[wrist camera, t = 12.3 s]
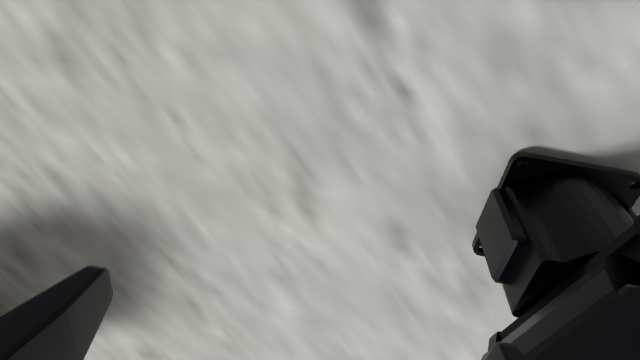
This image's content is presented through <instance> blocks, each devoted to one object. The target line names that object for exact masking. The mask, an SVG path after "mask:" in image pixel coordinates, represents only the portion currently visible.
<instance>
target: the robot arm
mask: <svg viewBox="0 0 640 360" xmlns="http://www.w3.org/2000/svg"><path fill="white" fill-rule="evenodd" d="M520 161H525V163H524V164H523V165H520V166H518V165H517V164H518V162H520ZM634 181H636V183H635V184H633V185H630V184H631V183H632V182H634ZM639 196H640V174H638V173H635V172H630V171H624V170H619V169H613V168H608V167H602V166H597V165H591V164H586V163H580V162H574V161H569V160H563V159H558V158H552V157H547V156H541V155H536V154H530V153H525V152H519V153H516V154H514V155H513V156H512V157H511V158H510V160H509V162H508V165H507V167H506V169H505V171H504V174H503V176H502V178H501V180H500V182H499V185H498V187H497V188H495V189H493V190H492V191H491V193H490V195H489V197H488V200H487V202H486V204H485V207H484V209H483V211H482V213H481V216H480V218H479V220H478V222H477V225H476V229H477V234H476V236H475V238H474V241H473V243H472V247H473V250H474V253H476V254H477V255H480V256H485V258H486V261H487V264H488V268H489V271H490V274H491V277H492V278H493V280H494V281H495V282H496V283H501V284H502V285H503V288H504V291H505V294H506V297H507V300H508V303H509V306H510V309H511V312H512V314H513V316H515V317H518V319H517V320H515V321H514V322H513V323H512V324H510V325H509V326H508V327H507V328H505V329H504V330H503V331H502V332H497V333H495V334H494V335H493V336H492V337H491V338H490V339H489V347H488V352H487V353H486V354H484V355H483V357H482V359H481V360H640V215H639V216H637V215H636V214H635V213H634V211H633V210H632V209H631V208H632V206H633V205H634V203H635V202H636V200H637V199H638V197H639ZM480 246H482V248H479V247H480ZM112 296H113V291H112V285H111V279H110V274H109V270H108V269H107V268H105V267H100V266H94V265H89V266H86V267H84V268H83V269H81V270H79V271H77V272H76V273H74V274H72V275H70V276H69V277H67V278H65V279H64V280H62V281H60V282H58V283H57V284H55V285H53V286H51V287H50V288H48V289H46V290H45V291H43V292H41V293H39V294H38V295H36V296H34V297H32V298H31V299H29V300H27V301H25V302H24V303H22V304H20V305H19V306H17V307H15V308H13V309H12V310H10V311H8V312H6V313H5V314H3V315H1V316H0V360H83V359H84V357H85V355H86V353H87V351H88V349H89V347H90V345H91V343H92V341H93V339H94V336H95V334H96V332H97V330H98V328H99V326H100V324H101V322H102V320H103V317H104V315H105V313H106V311H107V309H108V307H109V305H110V303H111V300H112Z"/></svg>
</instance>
